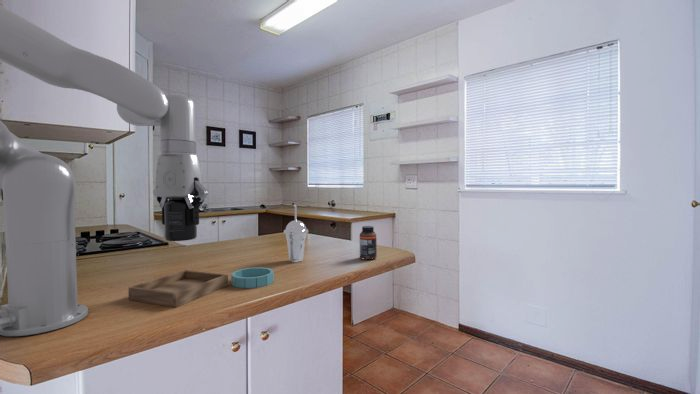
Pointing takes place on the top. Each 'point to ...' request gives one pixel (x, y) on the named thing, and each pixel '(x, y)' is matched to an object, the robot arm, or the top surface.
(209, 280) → the tray
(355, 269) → the top surface
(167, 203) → the supplement bottle
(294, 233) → the cup with straw
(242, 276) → the holder ring
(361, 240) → the supplement bottle
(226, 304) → the top surface
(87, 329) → the top surface
